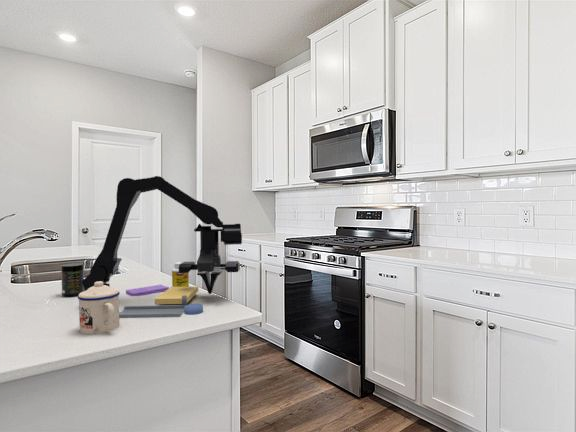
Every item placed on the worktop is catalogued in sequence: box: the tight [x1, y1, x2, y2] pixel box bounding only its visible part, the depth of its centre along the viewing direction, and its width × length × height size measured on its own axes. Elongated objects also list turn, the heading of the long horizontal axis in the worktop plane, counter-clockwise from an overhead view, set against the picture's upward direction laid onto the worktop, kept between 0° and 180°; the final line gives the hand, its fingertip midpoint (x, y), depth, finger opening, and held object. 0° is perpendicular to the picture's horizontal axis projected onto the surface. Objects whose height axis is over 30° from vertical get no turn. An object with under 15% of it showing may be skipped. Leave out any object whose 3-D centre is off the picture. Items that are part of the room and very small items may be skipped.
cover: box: [154, 285, 199, 305], centre depth 116 cm, size 17×9×2 cm, turn 1°
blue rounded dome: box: [183, 303, 204, 316], centre depth 104 cm, size 5×5×2 cm
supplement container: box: [60, 262, 85, 298], centre depth 127 cm, size 7×7×10 cm
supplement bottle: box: [171, 261, 190, 287], centre depth 130 cm, size 6×6×10 cm
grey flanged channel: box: [119, 304, 187, 319], centre depth 103 cm, size 18×9×1 cm, turn 91°
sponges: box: [125, 284, 170, 297], centre depth 130 cm, size 7×13×2 cm, turn 132°
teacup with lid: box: [77, 281, 120, 335], centre depth 90 cm, size 12×9×12 cm
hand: (210, 293), depth 120 cm, fingers closed
